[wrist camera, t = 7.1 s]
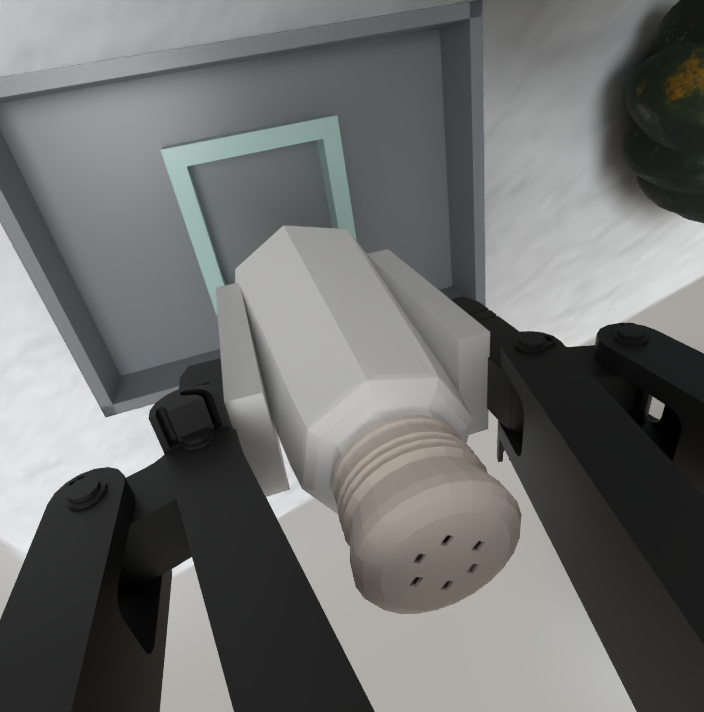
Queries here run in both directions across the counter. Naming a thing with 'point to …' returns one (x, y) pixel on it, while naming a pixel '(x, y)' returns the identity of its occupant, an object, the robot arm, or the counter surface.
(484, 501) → the salt shaker
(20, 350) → the counter surface
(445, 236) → the bin
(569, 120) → the counter surface
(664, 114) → the squash
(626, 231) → the counter surface
